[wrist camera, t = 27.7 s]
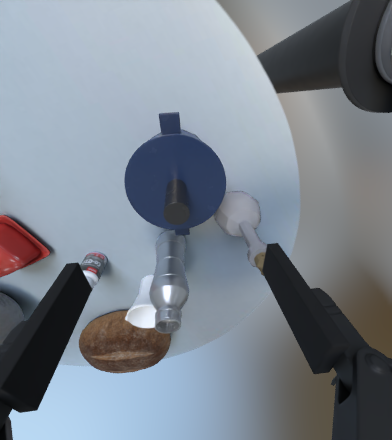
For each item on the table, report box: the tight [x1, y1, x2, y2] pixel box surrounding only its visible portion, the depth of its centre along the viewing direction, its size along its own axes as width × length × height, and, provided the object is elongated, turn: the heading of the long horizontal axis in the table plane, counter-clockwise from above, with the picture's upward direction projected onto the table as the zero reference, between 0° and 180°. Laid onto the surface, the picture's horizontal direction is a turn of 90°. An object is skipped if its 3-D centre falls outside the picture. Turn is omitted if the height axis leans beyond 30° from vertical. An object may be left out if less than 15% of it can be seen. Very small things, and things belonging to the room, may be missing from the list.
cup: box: [125, 275, 156, 328], centre depth 46 cm, size 9×9×10 cm
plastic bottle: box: [149, 230, 189, 333], centre depth 34 cm, size 6×7×20 cm
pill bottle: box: [80, 252, 107, 292], centre depth 41 cm, size 5×5×8 cm
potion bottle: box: [215, 191, 267, 276], centre depth 32 cm, size 9×9×18 cm
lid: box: [125, 134, 226, 230], centre depth 23 cm, size 14×14×8 cm
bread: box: [79, 310, 171, 373], centre depth 57 cm, size 26×27×10 cm
